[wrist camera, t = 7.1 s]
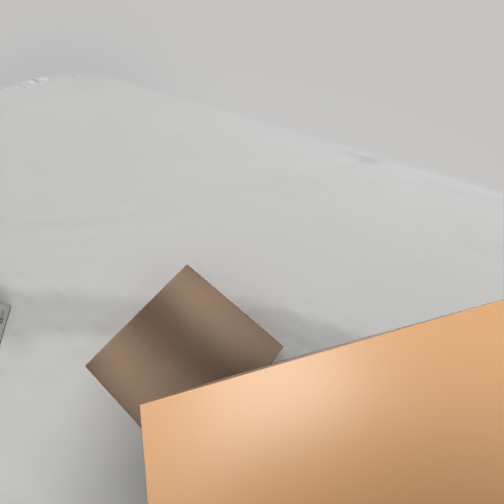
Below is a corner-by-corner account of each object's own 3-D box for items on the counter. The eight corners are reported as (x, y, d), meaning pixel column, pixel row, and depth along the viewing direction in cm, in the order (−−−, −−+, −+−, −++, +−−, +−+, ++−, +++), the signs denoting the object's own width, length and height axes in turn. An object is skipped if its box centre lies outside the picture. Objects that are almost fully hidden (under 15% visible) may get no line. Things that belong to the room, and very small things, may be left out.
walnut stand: (194, 461, 19) (187, 477, 16) (105, 365, 21) (85, 365, 19) (278, 348, 22) (283, 346, 20) (193, 275, 25) (187, 264, 22)
